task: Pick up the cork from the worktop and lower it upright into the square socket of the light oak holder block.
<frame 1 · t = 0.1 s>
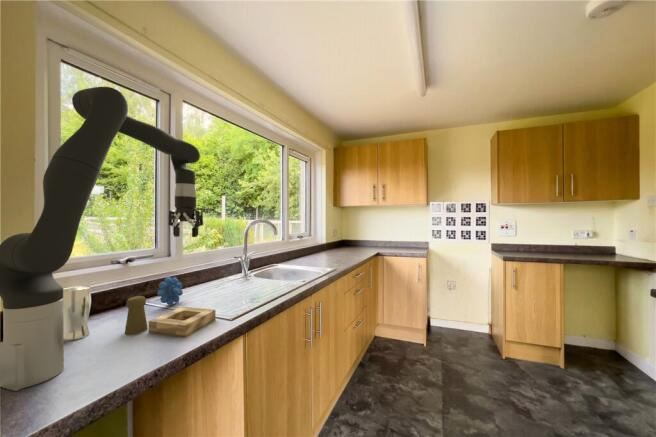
hand: (185, 236, 103), 29 cm above the table, tool pointing down, fingers open, 8 cm apart
cork: (136, 331, 84), on the table
holder block: (183, 325, 88), on the table
blue lobed wheel: (172, 305, 109), on the table
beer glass: (76, 337, 80), on the table
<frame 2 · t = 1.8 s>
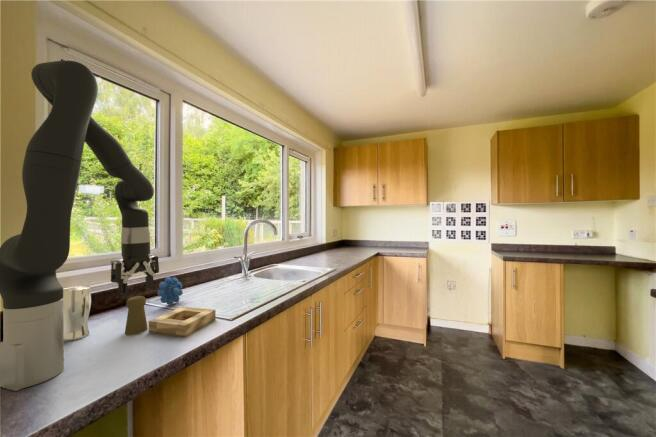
hand: (137, 290, 85), 13 cm above the table, tool pointing down, fingers open, 8 cm apart
nothing on the table moved.
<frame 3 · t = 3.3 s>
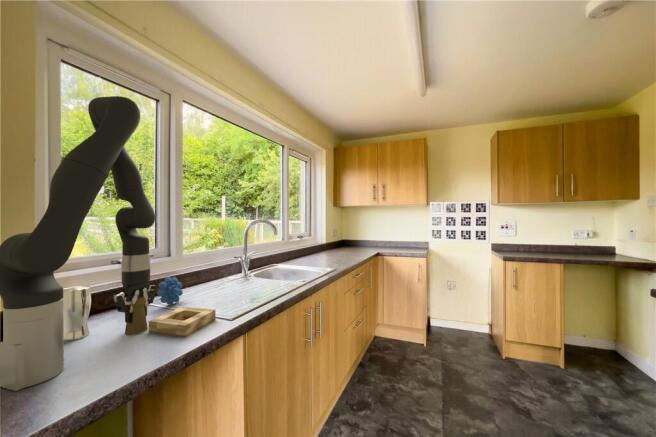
hand: (136, 320, 84), 3 cm above the table, tool pointing down, fingers closed on cork, 3 cm apart
cork: (136, 331, 84), on the table, touching gripper
everything else where it was.
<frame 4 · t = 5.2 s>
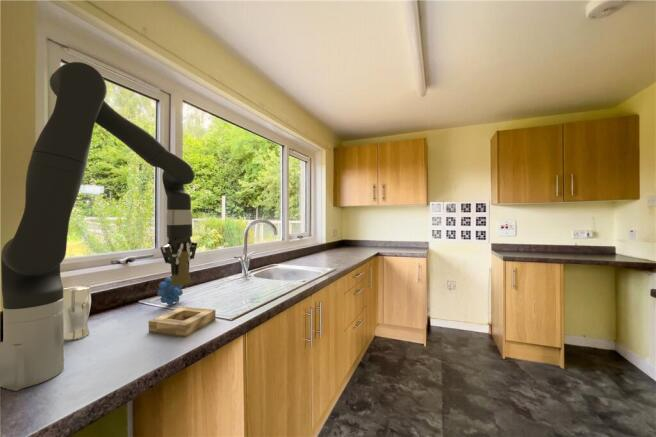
hand: (180, 273, 88), 18 cm above the table, tool pointing down, fingers closed on cork, 3 cm apart
cork: (180, 283, 88), point 14 cm above the table, touching gripper
everything else where it was.
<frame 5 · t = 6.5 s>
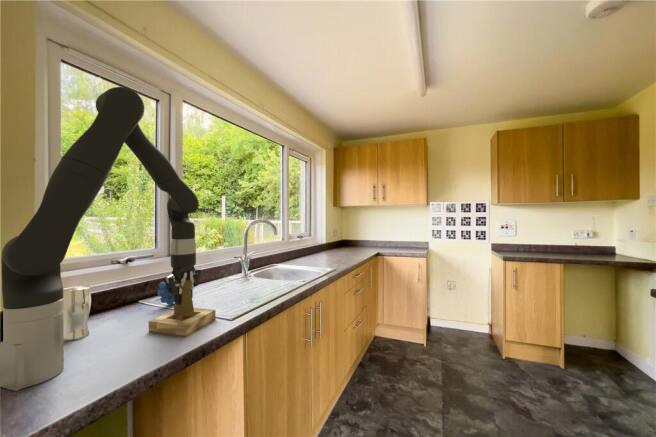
hand: (183, 302, 88), 8 cm above the table, tool pointing down, fingers closed on cork, 3 cm apart
cork: (184, 312, 88), point 5 cm above the table, touching gripper
everything else where it was.
when the fingers open (5 cm above the table, at t = 7.3 s): cork drops 1 cm, resting on holder block.
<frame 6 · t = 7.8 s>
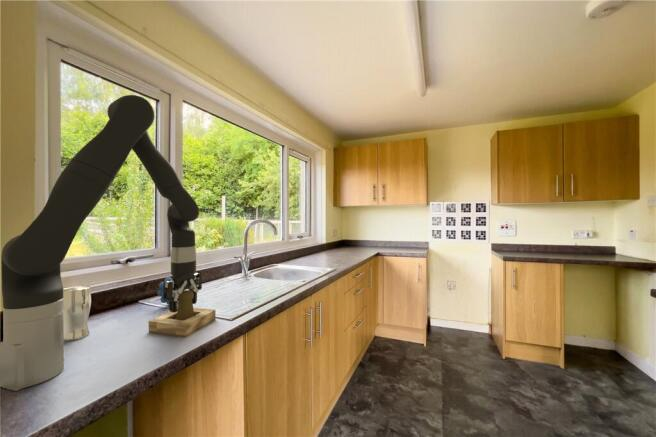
hand: (183, 307, 88), 6 cm above the table, tool pointing down, fingers open, 8 cm apart
cork: (185, 323, 89), resting on holder block
everything else where it was.
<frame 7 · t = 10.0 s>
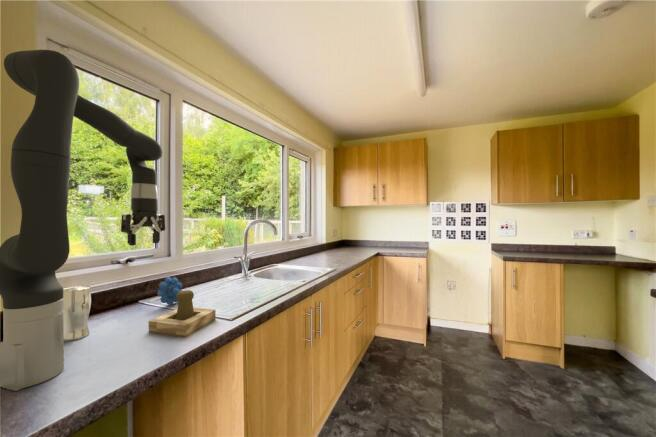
hand: (144, 244, 91), 28 cm above the table, tool pointing down, fingers open, 8 cm apart
nothing on the table moved.
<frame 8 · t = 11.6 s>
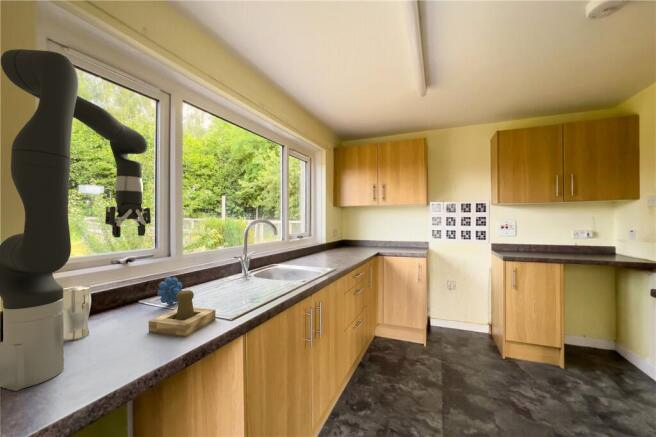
hand: (129, 236, 91), 30 cm above the table, tool pointing down, fingers open, 8 cm apart
nothing on the table moved.
at the end: cork 0.7 cm off-centre on the holder block, point 0.4 cm above the holder block's base; cork tilted 0°; the gripper is holding nothing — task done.
